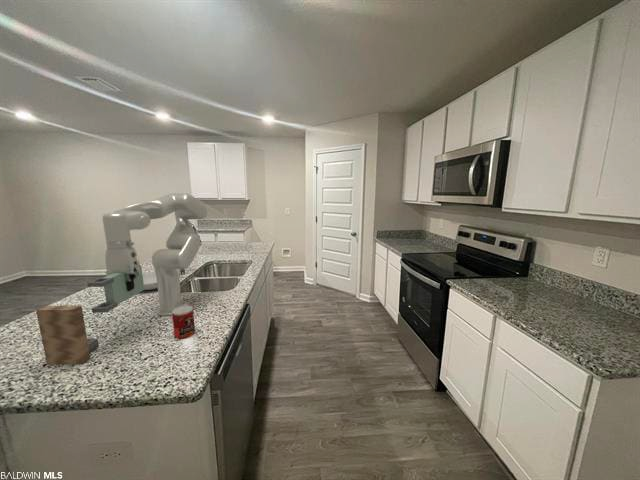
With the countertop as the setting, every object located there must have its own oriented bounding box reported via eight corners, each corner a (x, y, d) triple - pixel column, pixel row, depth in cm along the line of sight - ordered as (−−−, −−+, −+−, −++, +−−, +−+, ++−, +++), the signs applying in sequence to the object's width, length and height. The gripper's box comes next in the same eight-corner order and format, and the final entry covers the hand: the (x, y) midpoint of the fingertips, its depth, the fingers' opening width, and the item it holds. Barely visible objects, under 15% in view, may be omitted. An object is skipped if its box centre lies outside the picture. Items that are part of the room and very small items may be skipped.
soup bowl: (150, 280, 169) (149, 271, 168) (182, 282, 166) (182, 272, 165) (117, 293, 146) (116, 283, 145) (154, 296, 143) (153, 285, 142)
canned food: (181, 341, 99) (178, 315, 97) (170, 335, 103) (167, 310, 101) (199, 332, 105) (197, 308, 104) (188, 327, 110) (186, 303, 108)
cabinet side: (106, 346, 95) (99, 297, 91) (82, 364, 85) (73, 309, 82) (74, 347, 95) (66, 297, 91) (47, 364, 85) (35, 309, 81)
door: (146, 289, 108) (143, 265, 106) (106, 312, 87) (101, 282, 85) (135, 289, 108) (131, 265, 106) (92, 312, 87) (87, 282, 85)
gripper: (147, 243, 100) (152, 286, 103) (106, 243, 99) (112, 286, 103) (134, 247, 92) (140, 293, 96) (89, 247, 92) (97, 293, 95)
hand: (126, 289), depth 99 cm, fingers closed on door, 3 cm apart
